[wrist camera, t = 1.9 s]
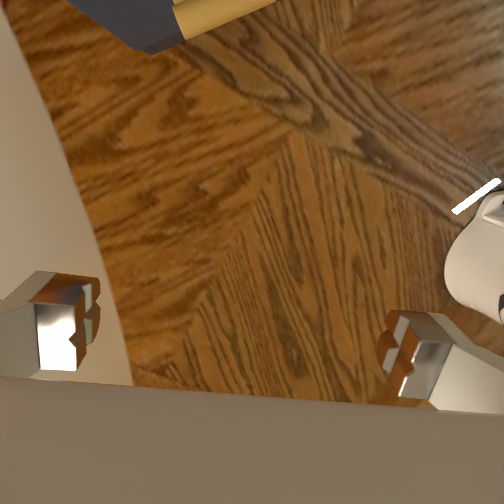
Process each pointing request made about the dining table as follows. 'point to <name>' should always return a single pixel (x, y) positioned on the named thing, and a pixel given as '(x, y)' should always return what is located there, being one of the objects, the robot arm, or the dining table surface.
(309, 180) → the dining table surface
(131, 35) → the lid
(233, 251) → the dining table surface
